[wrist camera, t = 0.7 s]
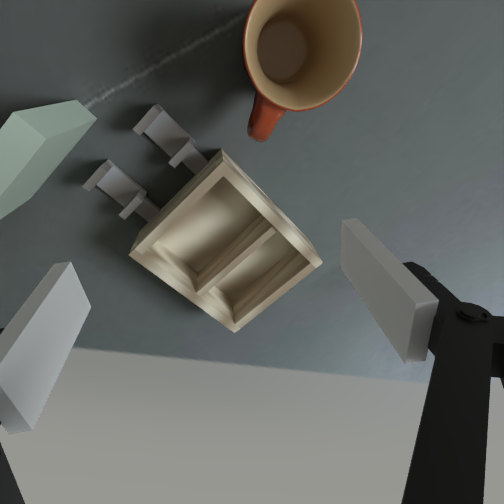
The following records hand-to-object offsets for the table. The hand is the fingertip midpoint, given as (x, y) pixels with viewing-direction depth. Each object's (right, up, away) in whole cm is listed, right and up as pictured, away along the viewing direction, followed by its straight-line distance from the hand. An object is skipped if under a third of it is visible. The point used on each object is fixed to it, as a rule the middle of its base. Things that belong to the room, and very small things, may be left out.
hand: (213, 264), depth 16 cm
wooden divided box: (-4, +5, +24) cm, 24 cm away
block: (-19, +11, +18) cm, 29 cm away
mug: (+4, +19, +17) cm, 26 cm away
